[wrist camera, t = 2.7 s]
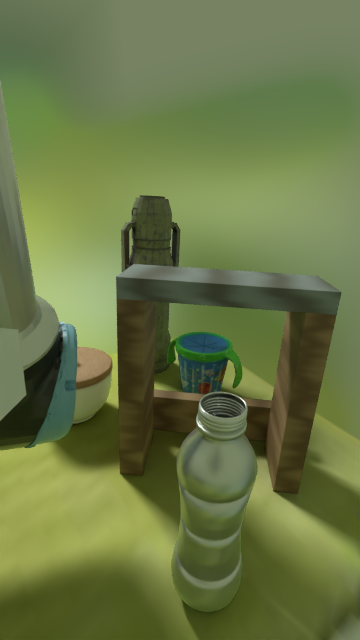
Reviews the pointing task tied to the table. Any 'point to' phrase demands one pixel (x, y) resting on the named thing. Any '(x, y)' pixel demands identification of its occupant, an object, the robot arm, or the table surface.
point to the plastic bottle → (213, 503)
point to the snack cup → (203, 361)
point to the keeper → (182, 408)
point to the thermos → (153, 256)
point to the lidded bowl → (91, 382)
